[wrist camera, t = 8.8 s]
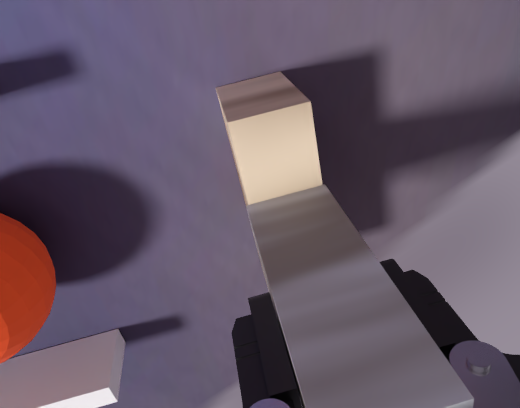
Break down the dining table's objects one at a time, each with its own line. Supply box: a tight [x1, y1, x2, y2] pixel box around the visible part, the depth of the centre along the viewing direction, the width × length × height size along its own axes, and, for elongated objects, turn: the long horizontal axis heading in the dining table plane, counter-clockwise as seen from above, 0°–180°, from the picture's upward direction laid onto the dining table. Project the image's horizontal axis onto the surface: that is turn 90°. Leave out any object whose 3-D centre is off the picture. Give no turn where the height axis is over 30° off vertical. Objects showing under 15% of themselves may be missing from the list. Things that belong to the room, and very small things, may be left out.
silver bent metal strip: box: [216, 72, 474, 408], centre depth 15 cm, size 10×3×14 cm, turn 11°
